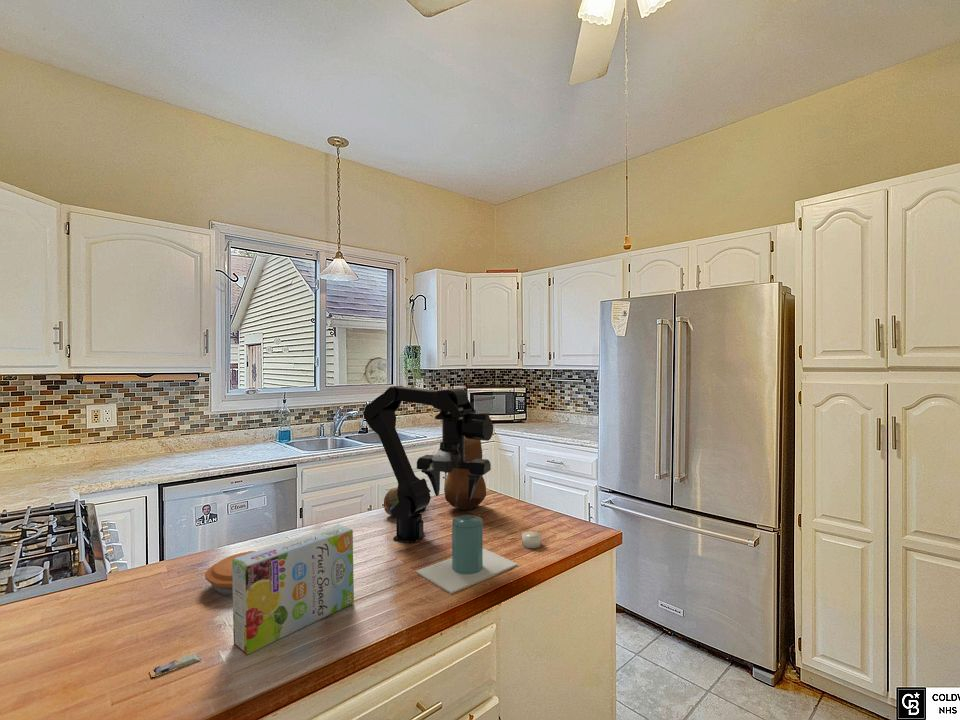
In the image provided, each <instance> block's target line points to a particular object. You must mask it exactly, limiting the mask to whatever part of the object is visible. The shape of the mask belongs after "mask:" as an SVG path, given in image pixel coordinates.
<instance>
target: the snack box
mask: <svg viewBox="0 0 960 720" xmlns="http://www.w3.org/2000/svg"><path fill="white" fill-rule="evenodd" d="M353 533H354V530H353V529H351V528H348V527H346V526H343V525H340V524H336V525H333V526H329V527H326V528H323V529H321V530H317V531H314V532H311V533H309V534H305V535H302V536H298V537H296V538H293V539H290V540H287V541H283V542H279V543H278V544H277V543H276V544H274V545H270V546H268V547H264V548H261V549H259V550H254V551H255V552H252V553H249V554H246V555H243V556H240V557H237V558H234V559H233V560H232V578H233V596H232V618H233V619H232V621H233V622H232V627H233V631H232V632H233V633H232V634H233V644H234V645H235V646H236V647H238V649H240V650H241V651H242V652H243V653H244V654H246V655H249V654H252V653H253V652H256V651H258V650H260V649H263V648H264V647H266V646H268V645H270V644H272V643H274V642H276V641H279V640H280V639H282V638H284V637H286V636H288V635H291V634H293V633H295V632H297V631H299V630H301V629H303V628H305V627H307V626H309V625H311V624H313V623H315V622H318V621H319V620H321V619H324V618H326V617H328V616H330V615H331V614H332V615H333V614H334V613H336V612H339V611H340V610H343V609H345V608H346V607H349V606H351V605H353V604H354V603H355V593H354V592H355V589H354V588H355V587H354V585H355V584H354V538H353V537H354V534H353Z"/></svg>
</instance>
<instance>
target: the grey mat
mask: <svg viewBox="0 0 960 720" xmlns="http://www.w3.org/2000/svg"><path fill="white" fill-rule="evenodd" d="M517 566H519V565H518V563H517V562H515V561H512V560H510V559H508V558H506V557H503V556H502V555H500V554H497V553H495V552H493V551H491V550H488V549H486V548H484V547H483V569H482V570H481V571H479V572H478V573H474V574H460V573H457V572H455V571H454V570H453V569H452V557H449V558H447V559H444V560H442V561H440V562H437V563H434V564H431V565H428V566H425V567H422V568H420V569H417V570H415V573H416V574H418V575H419V576H420V577H422V578H424V579H426V580H427V581H428V582H431V583H432V584H434V585H436V586H437V587H439V588H441V589H442V590H444V591H445V592H447V593H449V594H450V595H452V594H454V593H456V592H459V591H461V590H464V589H466V588H469V587H471V586H473V585H475V584H478V583H480V582H482V581H485V580H487V579H490V578H492V577H494V576H497V575H498V574H501V573H504V572H505V571H506V572H507V571H508V570H510V569H513V568H515V567H517Z"/></svg>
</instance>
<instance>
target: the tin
mask: <svg viewBox="0 0 960 720" xmlns="http://www.w3.org/2000/svg"><path fill="white" fill-rule="evenodd" d="M397 490H398V486H397V487H394V488H392V489H390V490H389V491H387V493H386V494H385V496H384V499H383V508H384V511H385V512H386V514H387V515H389V516H392V512H391V510H392V509H393V508H394V507H395V506H396V505H397V504H398V503H399V500H398V496H397Z"/></svg>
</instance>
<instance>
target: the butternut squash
mask: <svg viewBox="0 0 960 720" xmlns="http://www.w3.org/2000/svg"><path fill="white" fill-rule="evenodd" d="M464 440H466V444H465V445H464V455H465V456H466V460H464V461H466V462H471V461H473V460H474V459H483V448H482V447H483V446H482V440H475V439H467V438H466V437H465V436H464ZM469 474H470V472H469V469H460V468H453V469H452V471H451V472H449V473H447V475H446V478H445V482H444V488H443V491H444V499H445V501H446V502H447V503H448V504H449V505H451V507H453V508H456V509H459V510H460V509H461V510H463V511H470V510H471V511H472V510H474V509H475V508H477V507H478V506H479V505H480V504H481V503H482V502H483V501H484V500H485V499H486V497H487V486H486V481H485V478H484V475H482V476H481V477H480V479H479V481H478V483H477V485H476V488H475V491H474V493H473V496H472V498H471V500H469V499H468V489H469V478H468V475H469Z"/></svg>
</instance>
